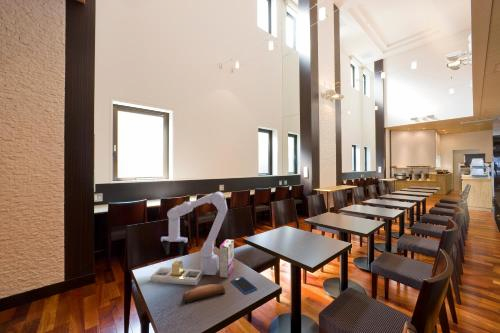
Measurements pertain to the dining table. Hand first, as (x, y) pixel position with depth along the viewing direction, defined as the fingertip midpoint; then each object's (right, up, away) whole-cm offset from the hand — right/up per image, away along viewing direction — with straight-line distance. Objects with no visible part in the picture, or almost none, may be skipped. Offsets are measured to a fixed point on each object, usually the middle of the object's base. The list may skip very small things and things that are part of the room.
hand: (174, 254), depth 117 cm
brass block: (+4, -10, -7) cm, 12 cm away
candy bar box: (+29, -10, -1) cm, 31 cm away
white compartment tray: (+4, -9, -7) cm, 12 cm away
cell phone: (+39, -10, -13) cm, 42 cm away
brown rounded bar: (+21, -10, -20) cm, 30 cm away
